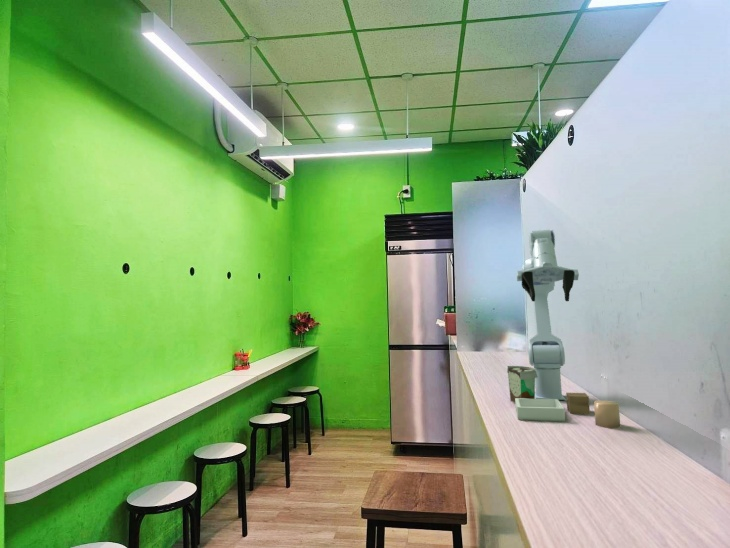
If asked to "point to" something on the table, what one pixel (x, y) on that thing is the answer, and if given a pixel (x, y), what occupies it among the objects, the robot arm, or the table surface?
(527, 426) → the table surface
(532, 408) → the counting tray
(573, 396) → the walnut block
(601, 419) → the beige rounded block
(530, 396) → the food container
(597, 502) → the table surface
